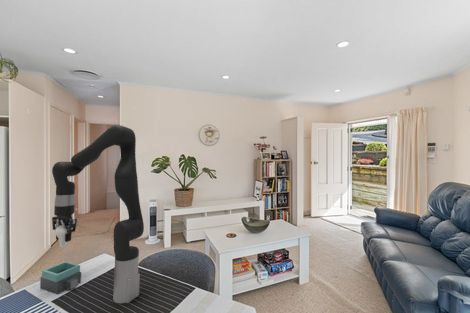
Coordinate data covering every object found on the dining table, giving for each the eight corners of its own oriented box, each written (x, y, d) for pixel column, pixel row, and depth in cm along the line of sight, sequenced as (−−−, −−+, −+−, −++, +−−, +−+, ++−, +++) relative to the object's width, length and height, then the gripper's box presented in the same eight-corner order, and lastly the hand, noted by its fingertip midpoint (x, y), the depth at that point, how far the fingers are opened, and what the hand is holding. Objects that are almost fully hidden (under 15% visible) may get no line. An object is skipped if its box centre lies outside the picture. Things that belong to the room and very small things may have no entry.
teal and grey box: (85, 283, 101) (85, 266, 101) (61, 296, 92) (62, 277, 92) (64, 277, 106) (64, 260, 107) (40, 288, 97) (40, 270, 97)
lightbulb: (64, 250, 97) (65, 226, 97) (50, 250, 97) (52, 225, 97) (74, 245, 103) (75, 222, 103) (62, 245, 103) (63, 222, 103)
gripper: (83, 204, 102) (82, 239, 101) (63, 201, 107) (62, 235, 106) (66, 207, 95) (64, 245, 94) (45, 204, 99) (44, 240, 99)
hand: (63, 240), depth 100 cm, fingers closed on lightbulb, 5 cm apart
